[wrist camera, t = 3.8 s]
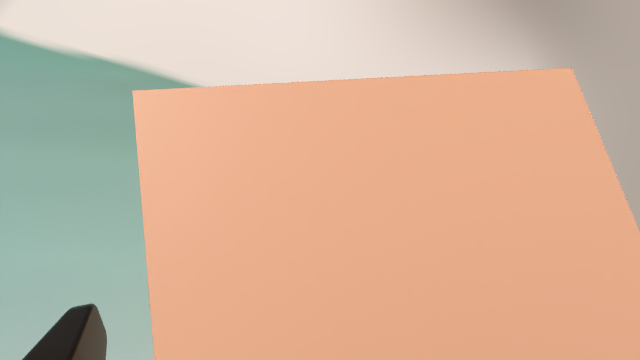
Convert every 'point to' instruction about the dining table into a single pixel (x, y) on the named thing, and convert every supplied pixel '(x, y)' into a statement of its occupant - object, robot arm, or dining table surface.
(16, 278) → the dining table surface
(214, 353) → the peach block
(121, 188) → the dining table surface
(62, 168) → the dining table surface
